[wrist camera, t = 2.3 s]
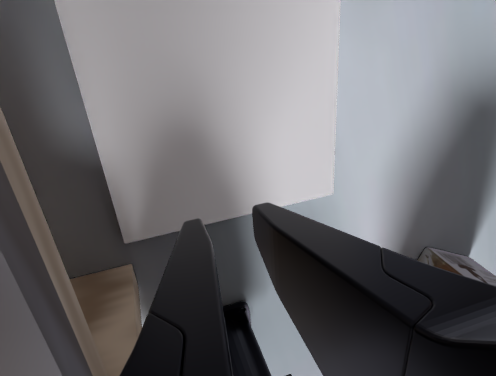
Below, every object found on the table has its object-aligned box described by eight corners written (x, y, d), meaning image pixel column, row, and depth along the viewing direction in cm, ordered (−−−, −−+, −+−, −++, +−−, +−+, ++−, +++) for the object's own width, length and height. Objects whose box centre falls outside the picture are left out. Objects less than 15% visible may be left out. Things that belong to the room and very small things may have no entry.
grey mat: (341, -200, 17) (348, -206, 16) (329, 190, 26) (333, 194, 26) (-6, -211, 14) (-10, -220, 13) (124, 238, 23) (124, 243, 23)
